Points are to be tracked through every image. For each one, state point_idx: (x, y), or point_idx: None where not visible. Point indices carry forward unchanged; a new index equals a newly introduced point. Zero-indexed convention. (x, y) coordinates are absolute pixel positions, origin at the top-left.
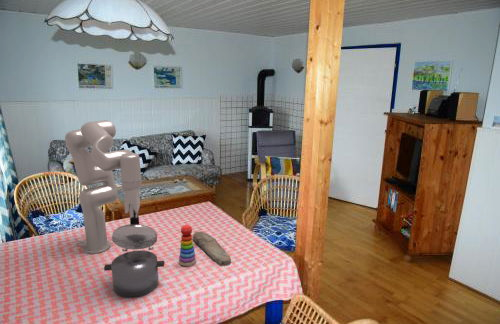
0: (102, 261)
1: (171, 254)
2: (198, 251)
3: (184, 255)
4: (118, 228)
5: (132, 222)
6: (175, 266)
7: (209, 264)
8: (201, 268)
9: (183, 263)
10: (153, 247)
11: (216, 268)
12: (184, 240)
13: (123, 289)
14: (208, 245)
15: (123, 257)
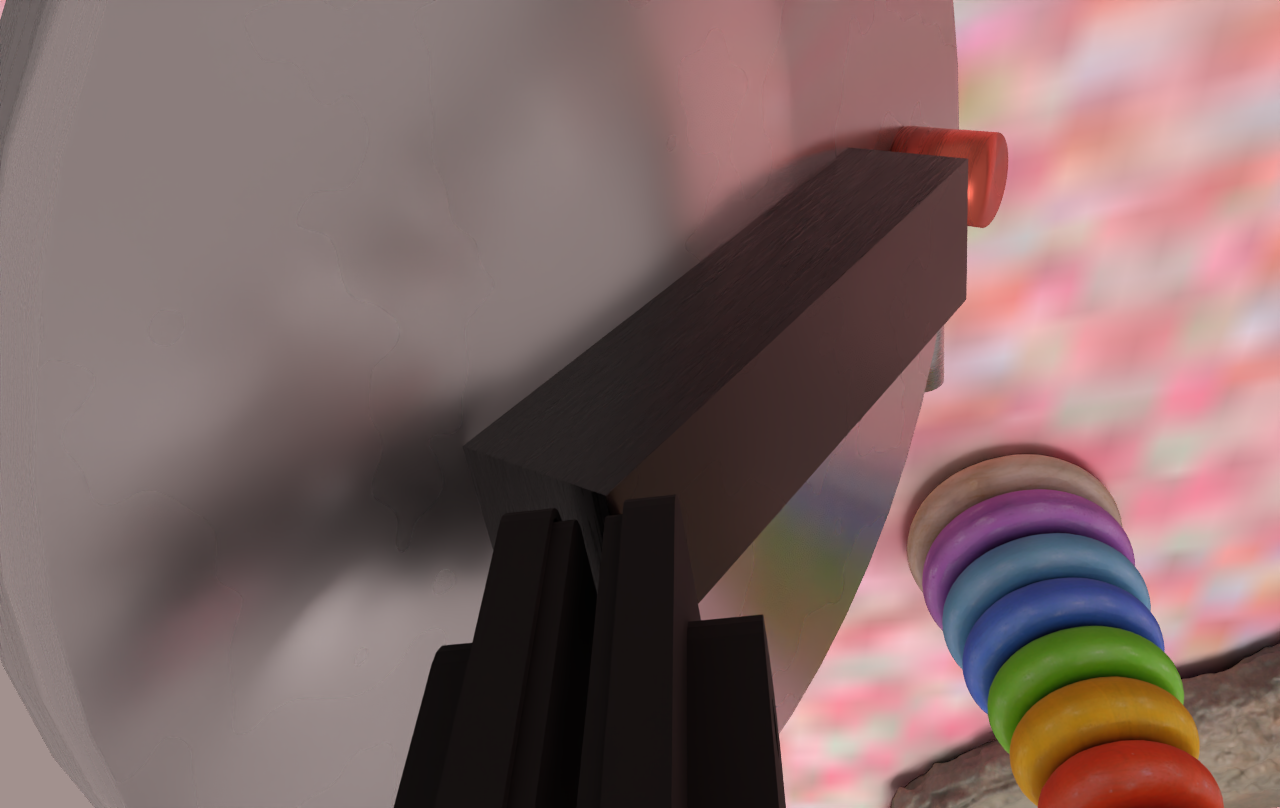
0: None
1: (1272, 326)
2: (1251, 603)
3: (956, 609)
4: (35, 156)
5: (417, 766)
6: (936, 418)
7: (929, 706)
8: (859, 651)
9: (927, 525)
10: (941, 378)
11: (845, 756)
12: (1049, 777)
13: None
14: (1267, 741)
15: None
